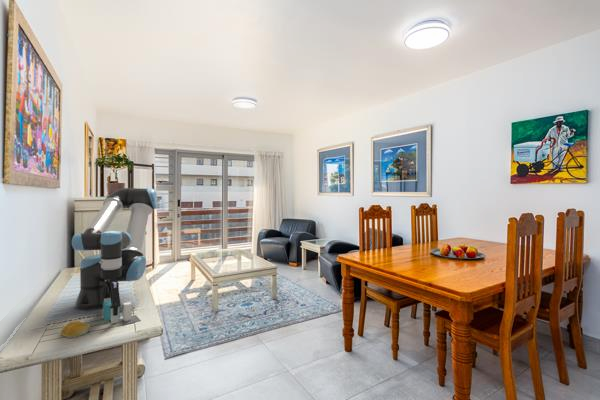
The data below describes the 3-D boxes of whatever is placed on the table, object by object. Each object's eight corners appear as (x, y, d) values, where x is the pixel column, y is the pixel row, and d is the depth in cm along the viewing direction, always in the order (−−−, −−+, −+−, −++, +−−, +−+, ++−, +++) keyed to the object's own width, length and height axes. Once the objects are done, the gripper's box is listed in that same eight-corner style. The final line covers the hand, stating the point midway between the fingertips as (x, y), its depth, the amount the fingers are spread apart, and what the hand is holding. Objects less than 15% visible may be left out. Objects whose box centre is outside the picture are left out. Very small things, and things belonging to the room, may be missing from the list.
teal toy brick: (102, 317, 128) (102, 302, 128) (116, 314, 132) (116, 299, 131) (105, 321, 124) (105, 305, 124) (119, 318, 128) (119, 302, 128)
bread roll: (72, 340, 109) (72, 329, 109) (57, 335, 112) (56, 325, 112) (95, 330, 117) (95, 320, 117) (80, 326, 120) (80, 316, 120)
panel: (118, 319, 126) (118, 319, 126) (135, 315, 131) (135, 314, 131) (123, 325, 121) (123, 324, 121) (140, 320, 126) (140, 320, 126)
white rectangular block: (122, 319, 126) (122, 303, 126) (129, 317, 128) (129, 301, 128) (124, 321, 124) (124, 305, 124) (131, 319, 126) (131, 303, 126)
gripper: (95, 263, 133) (95, 311, 134) (107, 275, 116) (107, 330, 116) (114, 261, 139) (114, 306, 139) (129, 272, 121) (128, 324, 121)
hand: (111, 317), depth 128 cm, fingers open, 12 cm apart
